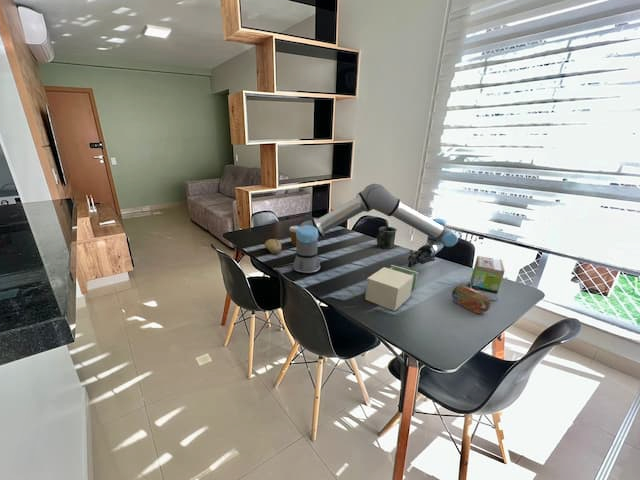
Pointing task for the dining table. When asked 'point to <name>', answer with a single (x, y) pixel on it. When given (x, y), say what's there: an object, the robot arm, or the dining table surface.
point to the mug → (386, 237)
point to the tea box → (487, 276)
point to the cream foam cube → (388, 288)
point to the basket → (406, 273)
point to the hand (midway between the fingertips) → (409, 264)
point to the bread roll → (273, 246)
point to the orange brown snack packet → (471, 299)
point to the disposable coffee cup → (293, 234)
